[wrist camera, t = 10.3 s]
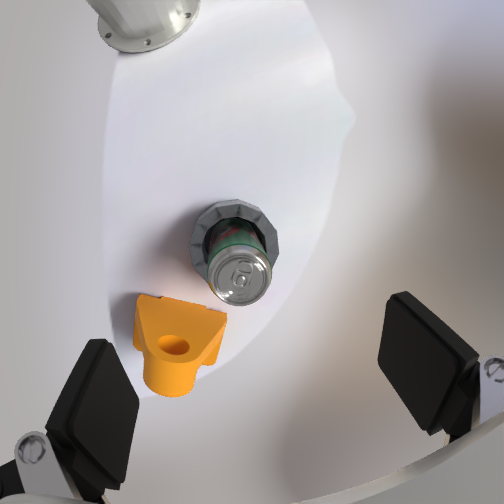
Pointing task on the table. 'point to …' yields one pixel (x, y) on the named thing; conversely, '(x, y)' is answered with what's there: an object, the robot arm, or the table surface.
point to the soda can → (237, 263)
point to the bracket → (175, 342)
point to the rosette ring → (227, 211)
